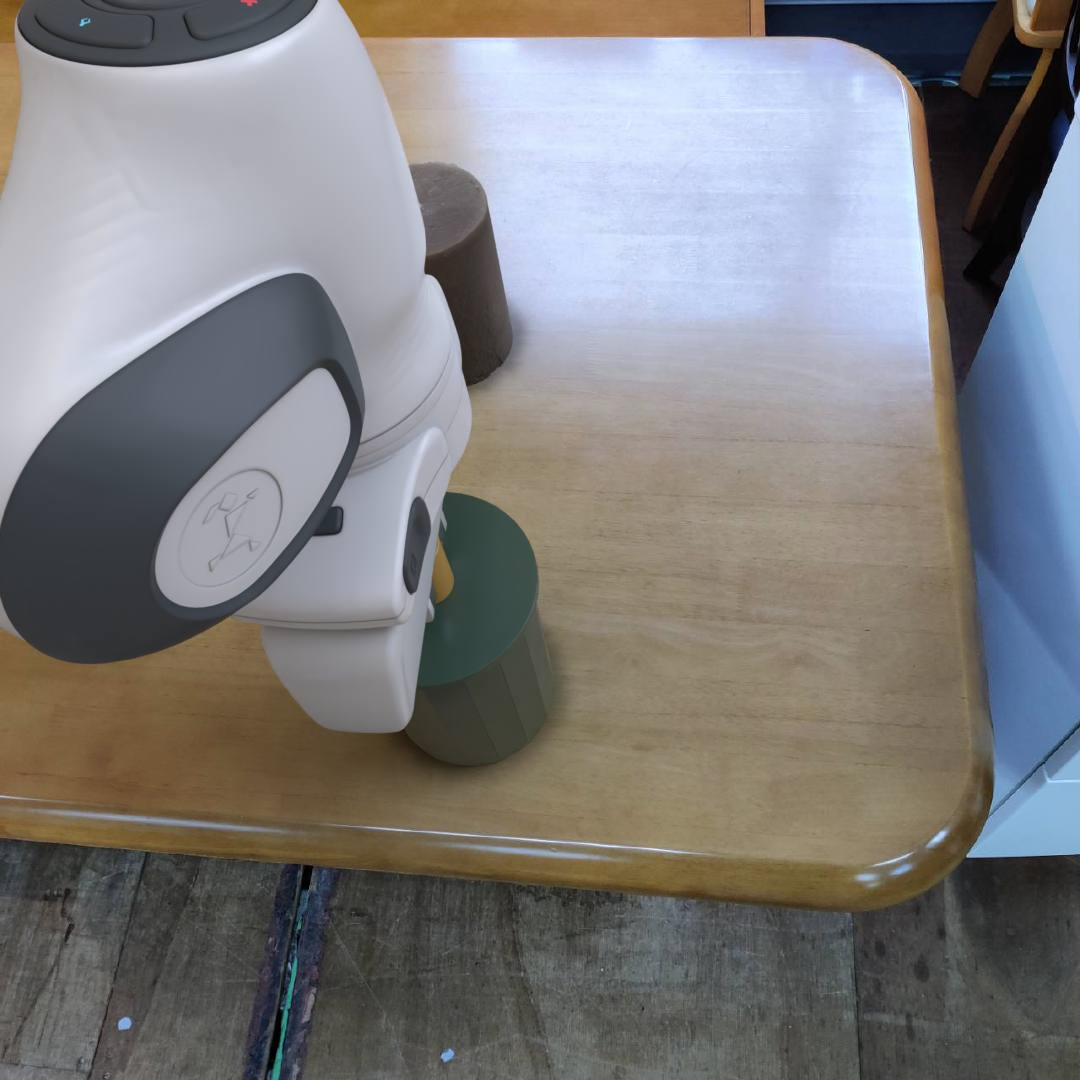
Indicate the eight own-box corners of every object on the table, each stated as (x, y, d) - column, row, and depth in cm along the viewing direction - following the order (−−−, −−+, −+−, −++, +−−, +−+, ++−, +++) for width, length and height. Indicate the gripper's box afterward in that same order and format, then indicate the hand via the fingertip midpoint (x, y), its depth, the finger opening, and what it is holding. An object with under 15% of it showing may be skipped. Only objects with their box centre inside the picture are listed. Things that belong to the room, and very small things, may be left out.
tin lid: (508, 716, 46) (493, 676, 41) (297, 671, 48) (261, 629, 44) (562, 520, 51) (554, 466, 47) (369, 488, 53) (343, 434, 49)
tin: (532, 782, 58) (499, 700, 46) (377, 747, 60) (306, 660, 48) (569, 633, 63) (550, 521, 50) (425, 605, 65) (372, 491, 53)
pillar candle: (498, 396, 74) (466, 249, 61) (379, 383, 75) (323, 238, 62) (524, 302, 78) (500, 147, 65) (411, 293, 80) (366, 140, 67)
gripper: (320, 212, 41) (393, 408, 53) (205, 647, 31) (327, 768, 43) (463, 208, 40) (505, 407, 52) (392, 653, 30) (464, 774, 42)
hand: (424, 573), depth 48 cm, fingers closed on tin lid, 2 cm apart
